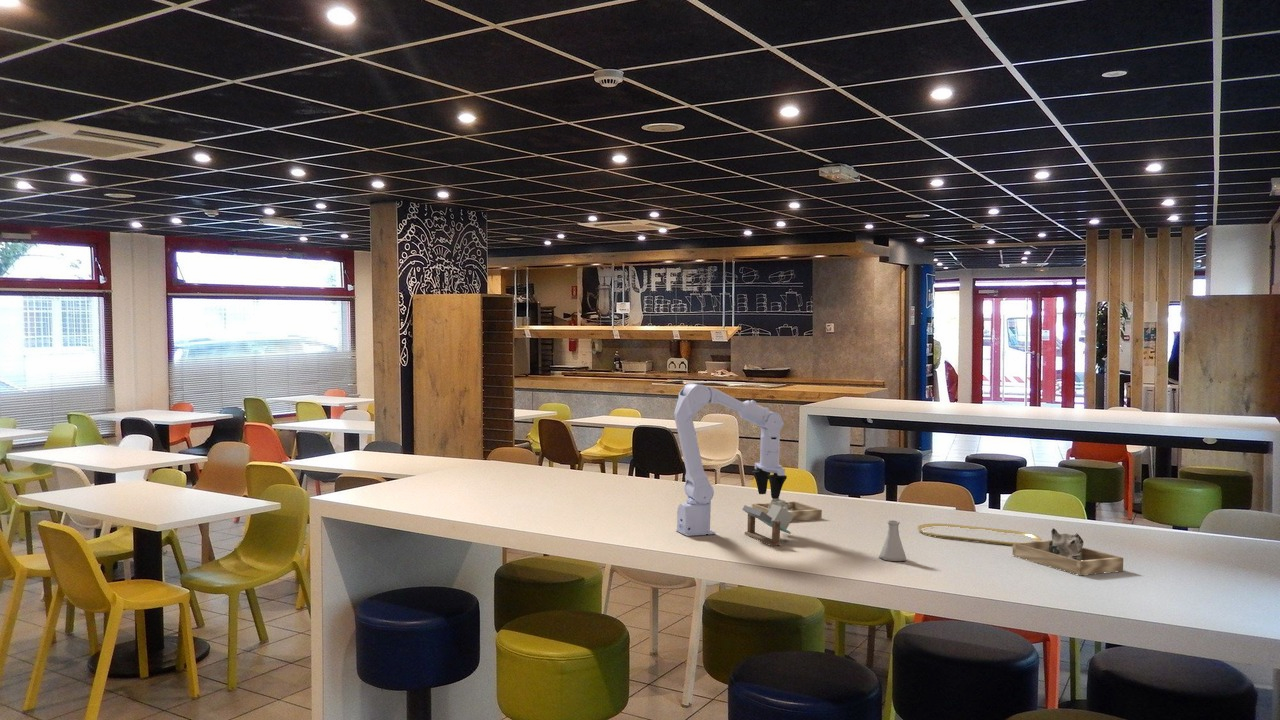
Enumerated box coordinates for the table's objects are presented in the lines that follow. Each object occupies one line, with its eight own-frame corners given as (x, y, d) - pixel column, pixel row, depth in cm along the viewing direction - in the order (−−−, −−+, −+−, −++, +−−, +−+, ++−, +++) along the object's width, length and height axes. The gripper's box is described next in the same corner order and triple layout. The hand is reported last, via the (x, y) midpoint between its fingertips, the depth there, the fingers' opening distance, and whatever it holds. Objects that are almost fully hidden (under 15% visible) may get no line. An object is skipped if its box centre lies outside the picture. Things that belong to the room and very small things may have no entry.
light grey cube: (773, 522, 254) (781, 507, 255) (764, 518, 258) (772, 504, 259) (785, 530, 255) (793, 515, 256) (776, 527, 260) (784, 512, 261)
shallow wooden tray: (1079, 575, 222) (1080, 561, 222) (1012, 555, 242) (1012, 543, 242) (1123, 571, 228) (1123, 557, 228) (1053, 552, 248) (1054, 539, 248)
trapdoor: (760, 516, 248) (763, 511, 249) (740, 509, 259) (743, 504, 259) (789, 535, 252) (791, 531, 252) (768, 527, 263) (770, 523, 263)
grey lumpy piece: (1094, 568, 226) (1084, 529, 227) (1055, 573, 229) (1046, 534, 230) (1085, 557, 241) (1076, 520, 242) (1049, 562, 244) (1040, 526, 245)
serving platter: (921, 526, 283) (921, 521, 283) (1042, 538, 268) (1042, 533, 268) (912, 537, 266) (913, 531, 266) (1040, 551, 251) (1041, 545, 251)
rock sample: (754, 504, 291) (772, 486, 293) (758, 516, 296) (776, 498, 299) (778, 522, 284) (796, 504, 287) (781, 534, 290) (799, 515, 292)
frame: (773, 546, 247) (773, 522, 247) (743, 534, 263) (744, 511, 262) (781, 545, 248) (782, 521, 248) (751, 533, 264) (752, 510, 263)
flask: (875, 555, 240) (876, 518, 240) (902, 556, 239) (903, 519, 239) (882, 561, 232) (883, 523, 232) (910, 562, 232) (911, 524, 232)
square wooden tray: (776, 521, 282) (776, 512, 282) (751, 512, 297) (751, 503, 297) (821, 519, 289) (821, 509, 289) (795, 510, 304) (795, 501, 304)
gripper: (794, 453, 263) (792, 499, 263) (769, 448, 276) (767, 491, 277) (773, 454, 260) (772, 500, 261) (749, 448, 274) (748, 492, 274)
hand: (768, 496), depth 268 cm, fingers open, 7 cm apart
